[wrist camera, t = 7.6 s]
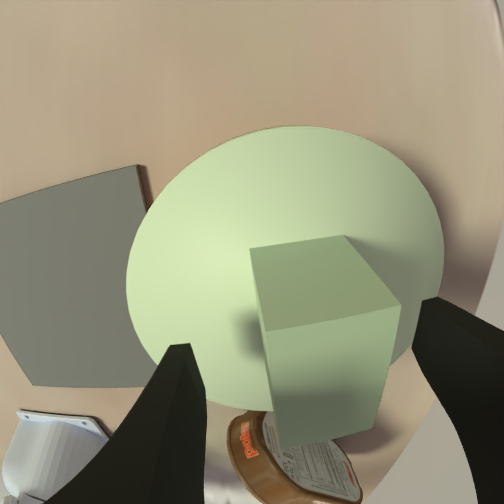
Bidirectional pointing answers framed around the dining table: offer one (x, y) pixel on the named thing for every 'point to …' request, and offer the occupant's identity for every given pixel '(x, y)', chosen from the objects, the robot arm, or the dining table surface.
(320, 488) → the tin
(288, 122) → the dining table surface
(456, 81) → the dining table surface
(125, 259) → the mat
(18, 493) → the robot arm
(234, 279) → the lid
